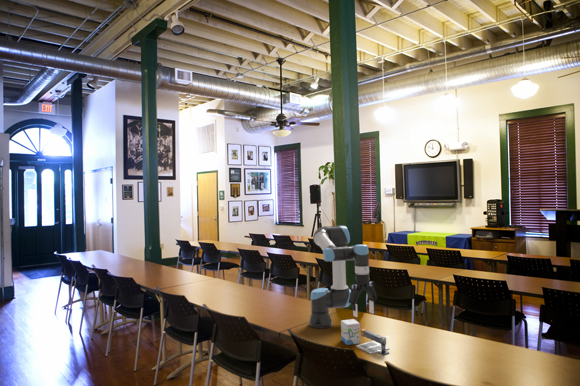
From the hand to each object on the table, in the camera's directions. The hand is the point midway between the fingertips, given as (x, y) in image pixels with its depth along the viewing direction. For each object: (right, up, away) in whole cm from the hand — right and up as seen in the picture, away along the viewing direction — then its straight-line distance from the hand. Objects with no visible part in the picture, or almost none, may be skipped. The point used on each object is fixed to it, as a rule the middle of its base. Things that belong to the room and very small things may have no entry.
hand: (363, 314), depth 209 cm
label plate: (+6, -20, +5) cm, 21 cm away
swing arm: (+6, -15, +4) cm, 17 cm away
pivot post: (+10, -19, -3) cm, 22 cm away
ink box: (-5, -21, +15) cm, 26 cm away
